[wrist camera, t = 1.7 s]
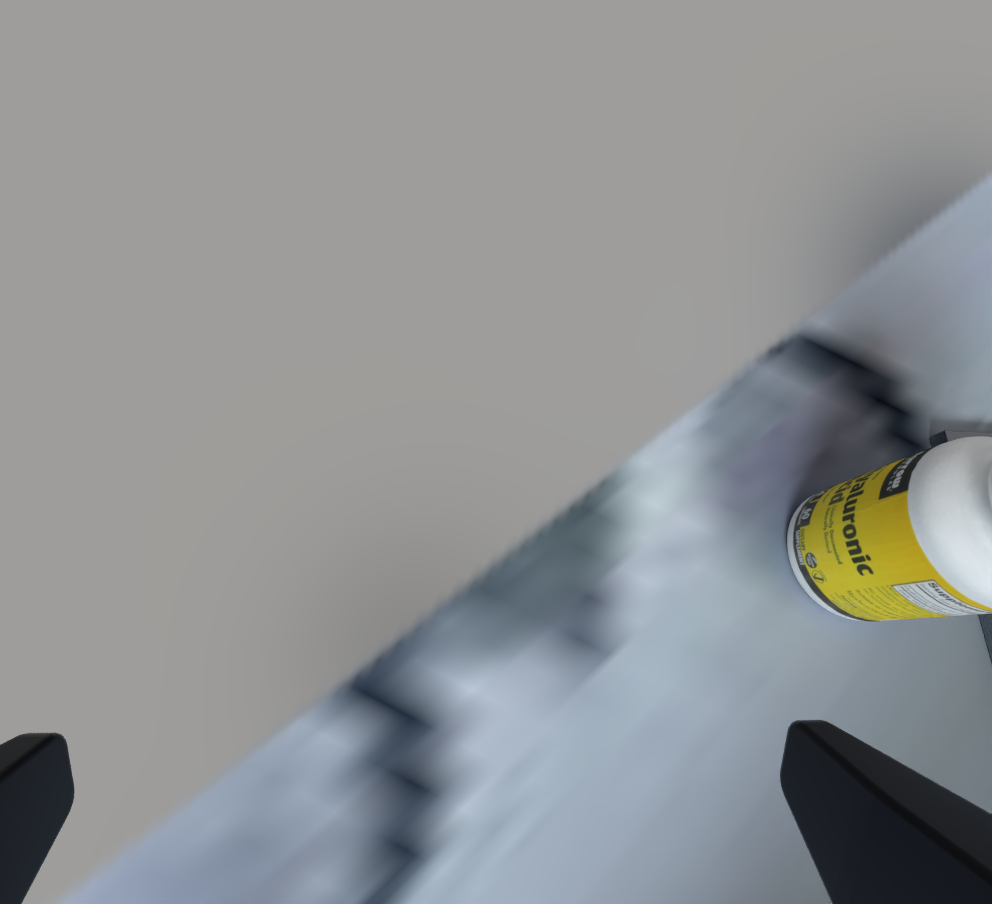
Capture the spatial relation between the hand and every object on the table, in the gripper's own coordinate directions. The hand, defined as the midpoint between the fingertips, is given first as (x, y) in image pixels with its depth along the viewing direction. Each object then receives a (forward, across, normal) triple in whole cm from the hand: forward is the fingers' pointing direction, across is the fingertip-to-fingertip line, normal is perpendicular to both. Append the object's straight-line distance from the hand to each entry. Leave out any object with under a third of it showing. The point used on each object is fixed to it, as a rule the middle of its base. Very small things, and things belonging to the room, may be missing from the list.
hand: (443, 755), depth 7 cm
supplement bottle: (+15, -16, +4) cm, 23 cm away
